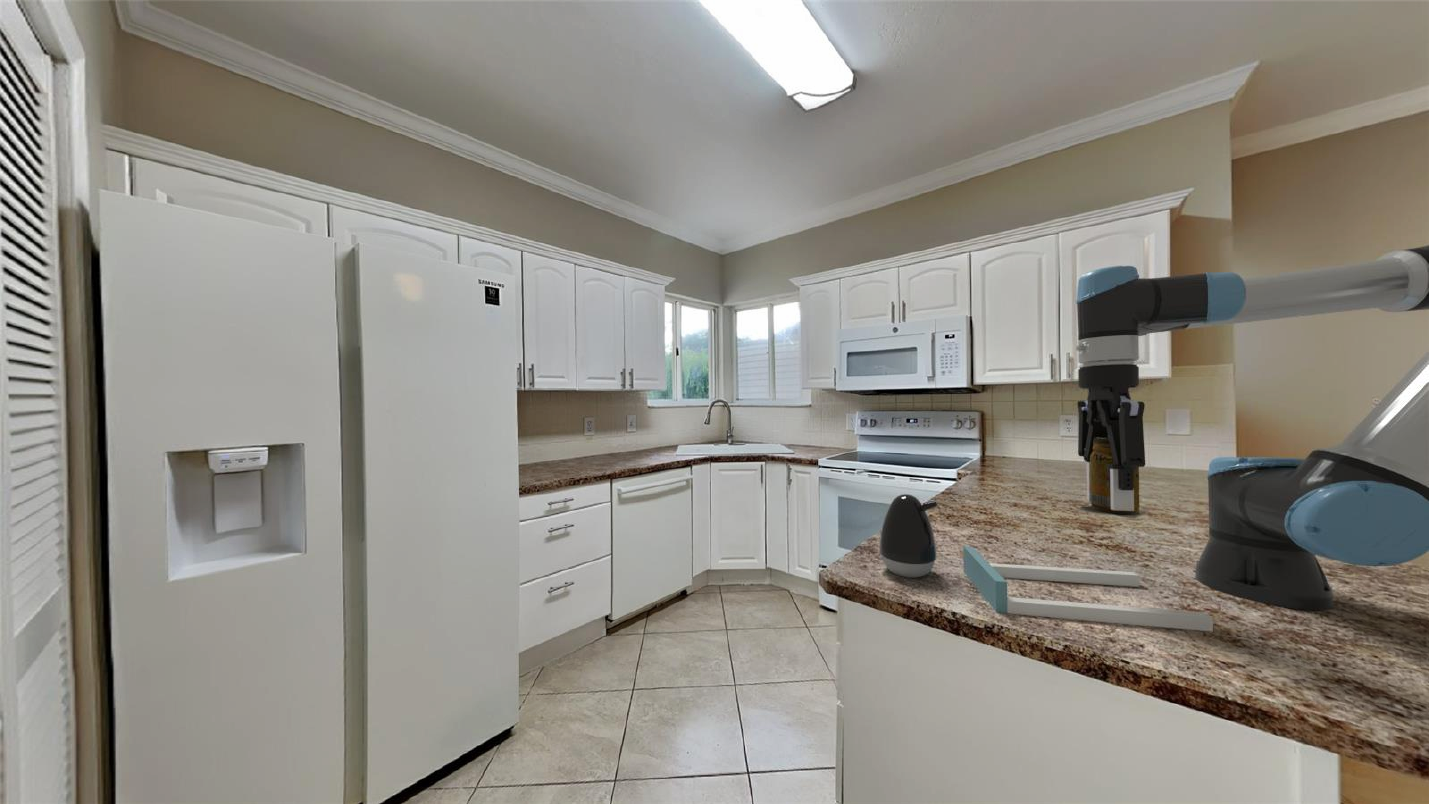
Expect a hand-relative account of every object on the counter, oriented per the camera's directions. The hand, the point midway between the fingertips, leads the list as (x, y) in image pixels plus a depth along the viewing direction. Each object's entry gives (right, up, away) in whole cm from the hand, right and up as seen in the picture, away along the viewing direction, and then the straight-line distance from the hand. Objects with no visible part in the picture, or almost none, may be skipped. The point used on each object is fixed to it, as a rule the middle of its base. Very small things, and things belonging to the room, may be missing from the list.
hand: (1109, 504), depth 75 cm
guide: (-5, -16, +1) cm, 17 cm away
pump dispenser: (-27, -16, +13) cm, 35 cm away
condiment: (0, -1, -1) cm, 1 cm away
